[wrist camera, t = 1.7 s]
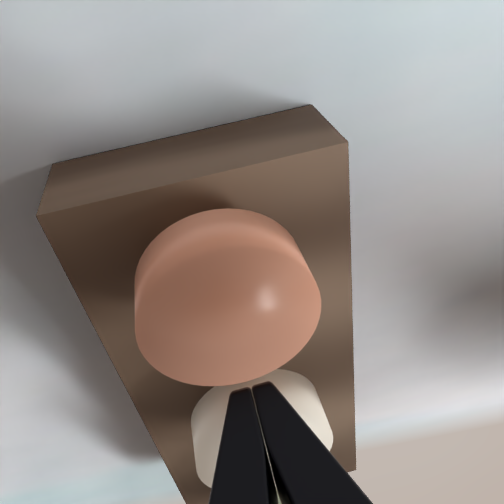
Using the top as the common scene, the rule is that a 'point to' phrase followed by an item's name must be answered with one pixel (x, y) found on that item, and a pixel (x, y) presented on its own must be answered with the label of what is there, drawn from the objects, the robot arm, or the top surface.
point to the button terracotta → (223, 298)
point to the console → (192, 202)
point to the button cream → (214, 410)
